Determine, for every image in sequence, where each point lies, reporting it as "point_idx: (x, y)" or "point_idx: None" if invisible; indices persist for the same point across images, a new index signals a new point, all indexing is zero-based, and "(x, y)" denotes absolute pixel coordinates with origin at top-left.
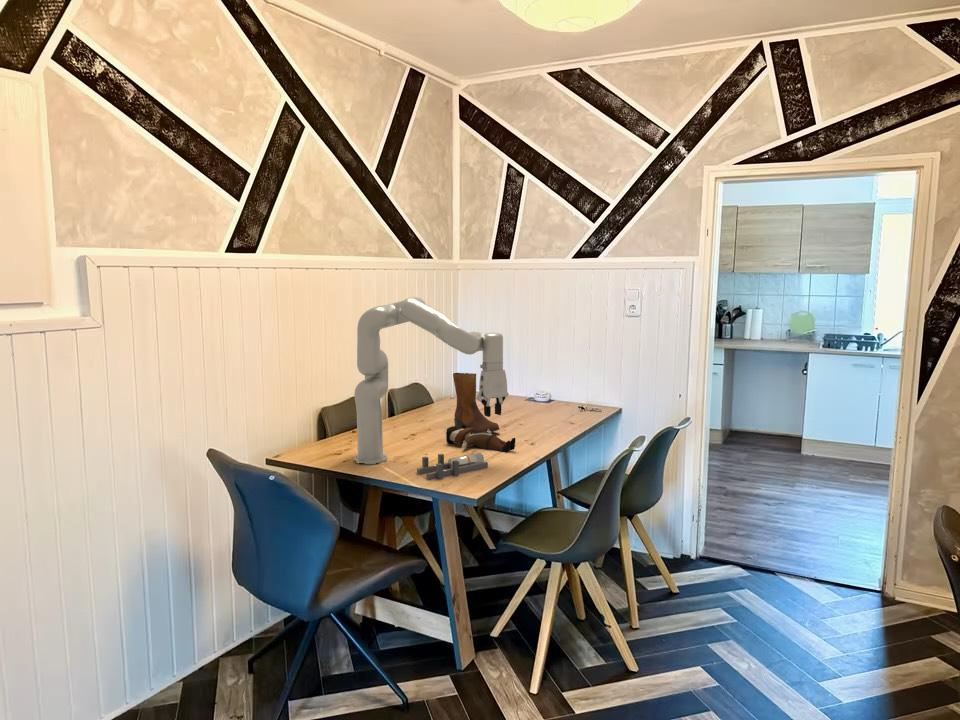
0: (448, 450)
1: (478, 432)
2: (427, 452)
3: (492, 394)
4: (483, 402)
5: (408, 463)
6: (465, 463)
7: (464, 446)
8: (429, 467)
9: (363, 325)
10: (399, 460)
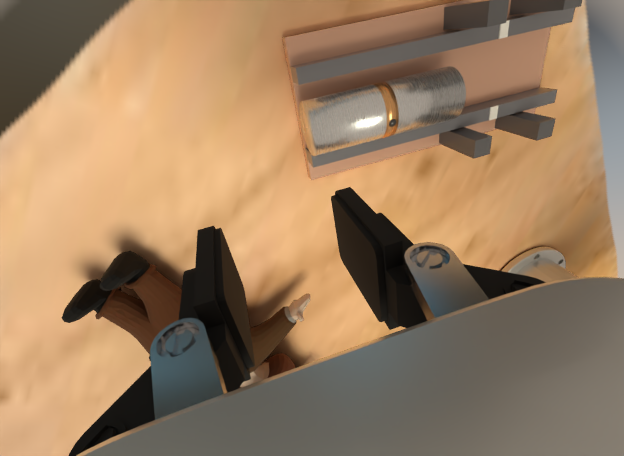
0: (322, 323)
1: None
2: None
3: (547, 372)
4: (511, 278)
5: (472, 235)
6: (398, 79)
7: (297, 301)
8: (517, 99)
9: None
10: (475, 264)
